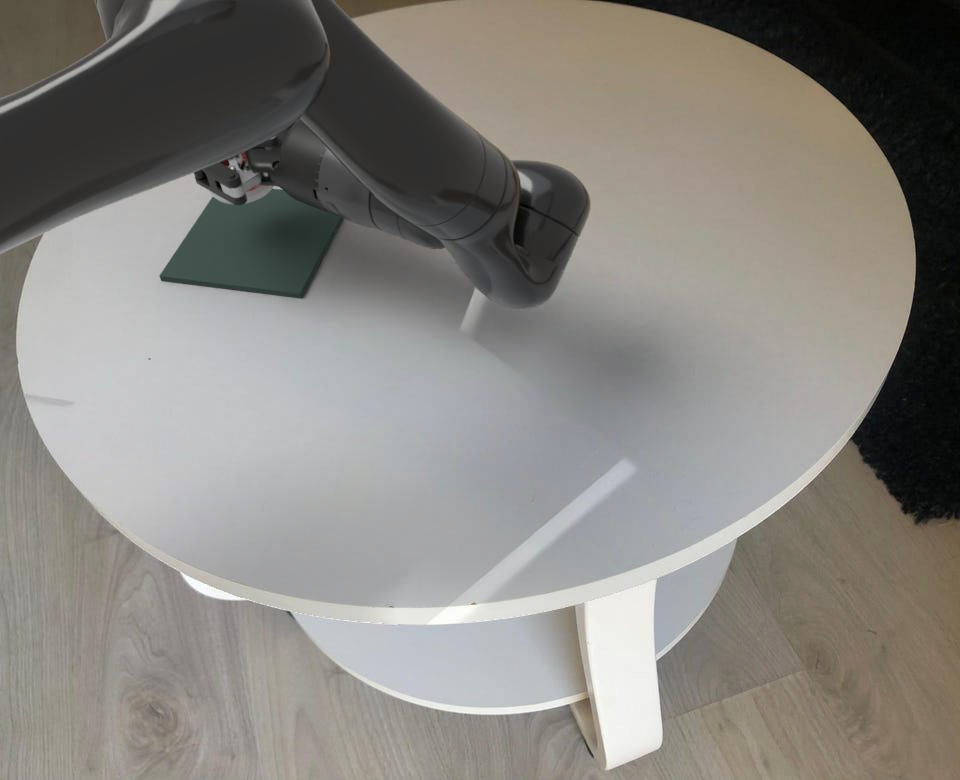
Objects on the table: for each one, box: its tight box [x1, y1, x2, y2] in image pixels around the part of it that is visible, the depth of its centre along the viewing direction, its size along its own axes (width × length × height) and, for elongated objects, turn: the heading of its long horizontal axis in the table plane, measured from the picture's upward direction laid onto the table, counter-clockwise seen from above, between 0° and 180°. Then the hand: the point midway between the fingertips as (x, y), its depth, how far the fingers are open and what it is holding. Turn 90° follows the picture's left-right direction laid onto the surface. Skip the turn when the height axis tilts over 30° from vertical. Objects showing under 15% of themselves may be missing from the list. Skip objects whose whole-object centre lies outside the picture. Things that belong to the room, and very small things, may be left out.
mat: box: [159, 188, 344, 299], centre depth 94 cm, size 14×14×1 cm
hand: (205, 117), depth 86 cm, fingers closed on pill bottle, 6 cm apart
